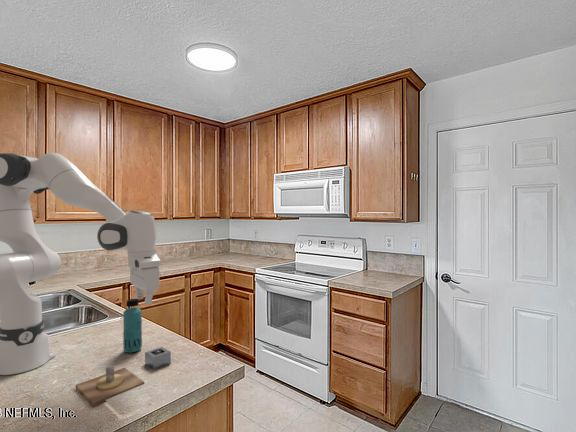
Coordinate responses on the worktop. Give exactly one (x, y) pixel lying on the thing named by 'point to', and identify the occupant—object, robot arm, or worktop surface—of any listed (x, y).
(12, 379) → the worktop surface
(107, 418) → the worktop surface
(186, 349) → the worktop surface
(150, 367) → the stand
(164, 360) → the square metal tube
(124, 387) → the brown square board
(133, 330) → the beverage bottle
